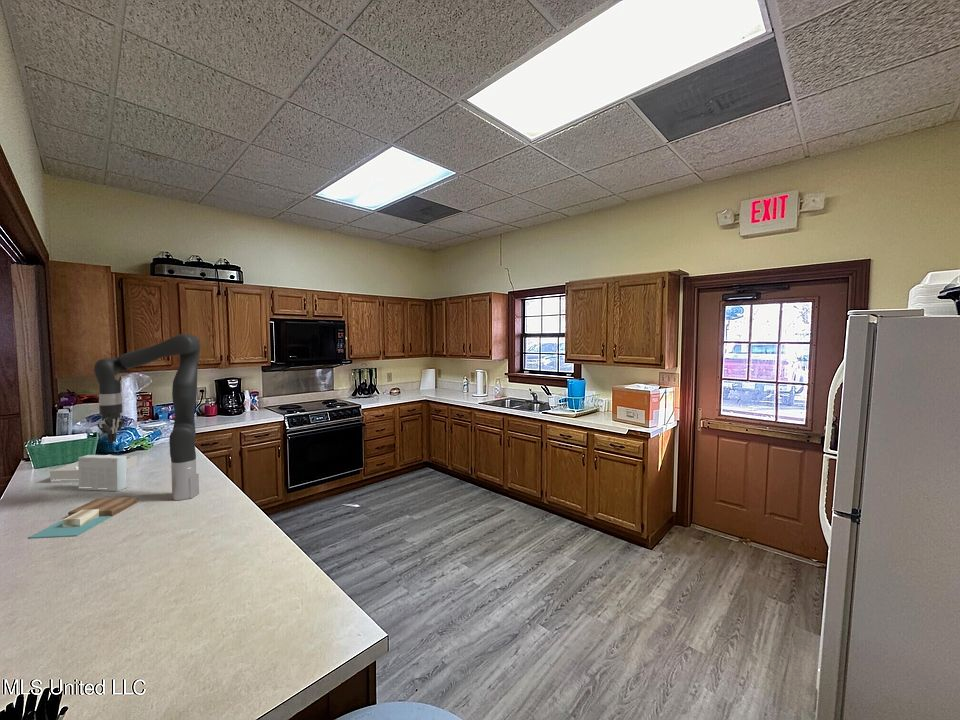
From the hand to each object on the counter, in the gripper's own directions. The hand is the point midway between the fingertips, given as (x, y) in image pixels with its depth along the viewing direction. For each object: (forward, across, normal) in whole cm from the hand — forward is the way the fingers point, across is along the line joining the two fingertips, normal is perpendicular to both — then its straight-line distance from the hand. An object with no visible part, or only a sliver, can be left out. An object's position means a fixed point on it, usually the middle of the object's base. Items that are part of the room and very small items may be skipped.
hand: (112, 441), depth 178 cm
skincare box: (+27, +17, +17) cm, 36 cm away
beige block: (+27, -22, -3) cm, 34 cm away
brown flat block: (+27, -10, -3) cm, 29 cm away
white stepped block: (+27, +40, +37) cm, 61 cm away
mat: (+27, -26, -3) cm, 37 cm away
